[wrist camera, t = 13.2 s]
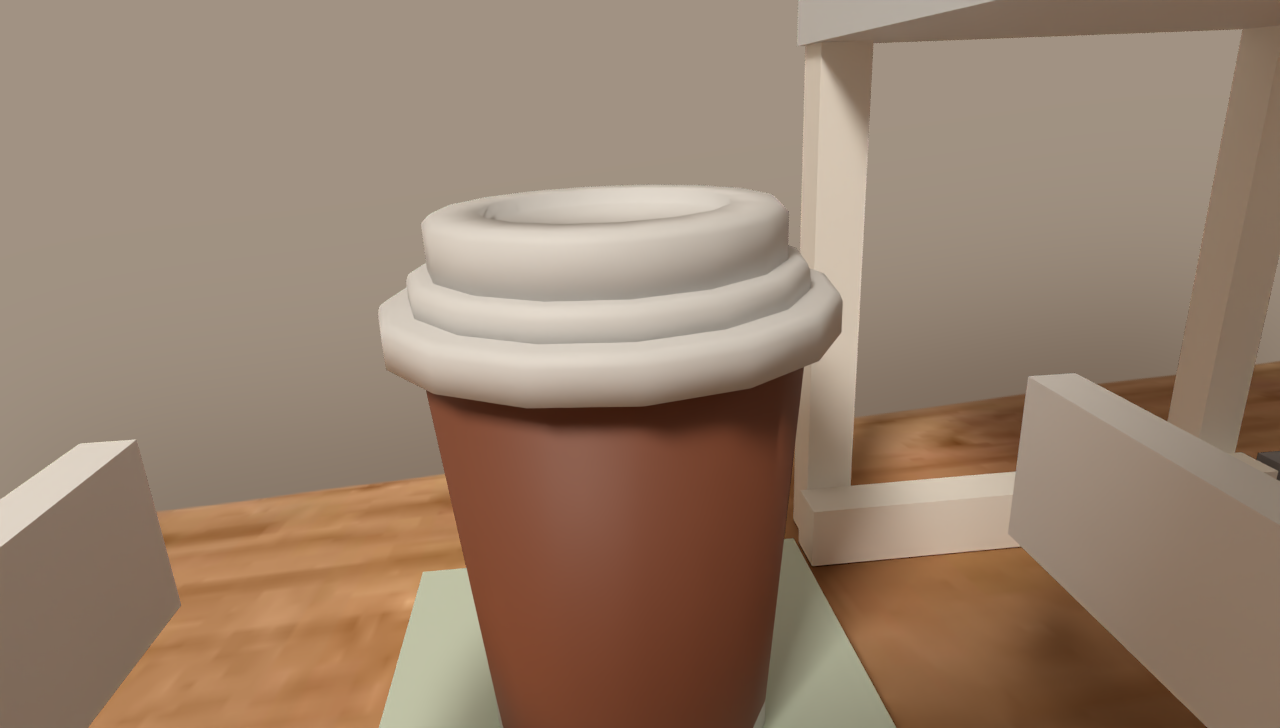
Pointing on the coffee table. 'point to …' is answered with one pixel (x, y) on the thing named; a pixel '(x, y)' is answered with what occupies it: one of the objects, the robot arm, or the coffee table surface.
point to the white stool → (833, 244)
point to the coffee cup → (617, 439)
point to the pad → (796, 688)
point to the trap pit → (1271, 460)
